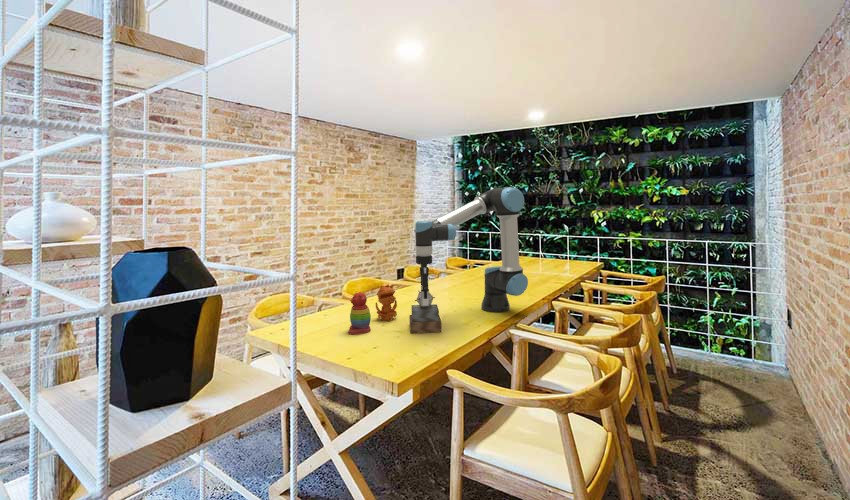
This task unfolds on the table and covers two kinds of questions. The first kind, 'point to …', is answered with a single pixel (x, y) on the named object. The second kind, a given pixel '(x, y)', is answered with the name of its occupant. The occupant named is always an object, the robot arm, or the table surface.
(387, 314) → the brown upright figure
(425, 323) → the dark grey tapered block
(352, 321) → the stacking bear
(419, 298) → the grey spiked ball
